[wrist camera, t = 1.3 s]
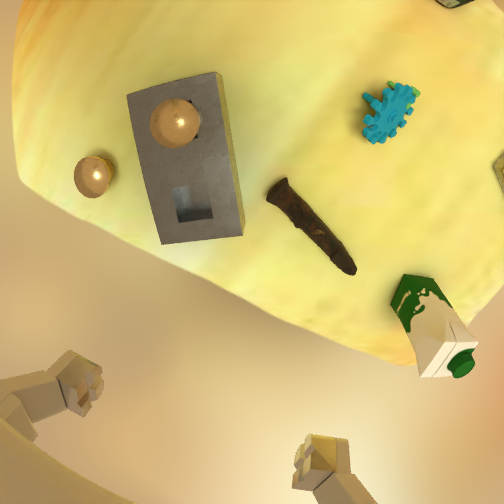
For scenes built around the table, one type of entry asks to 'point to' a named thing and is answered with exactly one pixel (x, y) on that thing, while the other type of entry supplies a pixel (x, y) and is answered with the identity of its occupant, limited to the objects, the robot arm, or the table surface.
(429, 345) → the milk carton
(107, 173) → the tan dome cap
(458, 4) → the coffee jar
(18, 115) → the table surface
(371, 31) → the table surface
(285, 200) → the hand tool
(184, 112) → the block
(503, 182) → the hardcover book
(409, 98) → the teal cog wheel
